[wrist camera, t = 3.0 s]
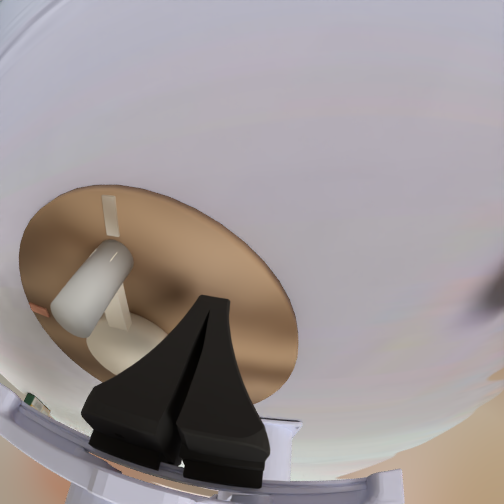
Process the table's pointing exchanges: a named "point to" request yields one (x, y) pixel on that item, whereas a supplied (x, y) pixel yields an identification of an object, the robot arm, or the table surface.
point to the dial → (106, 310)
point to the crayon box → (36, 404)
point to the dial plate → (161, 275)
